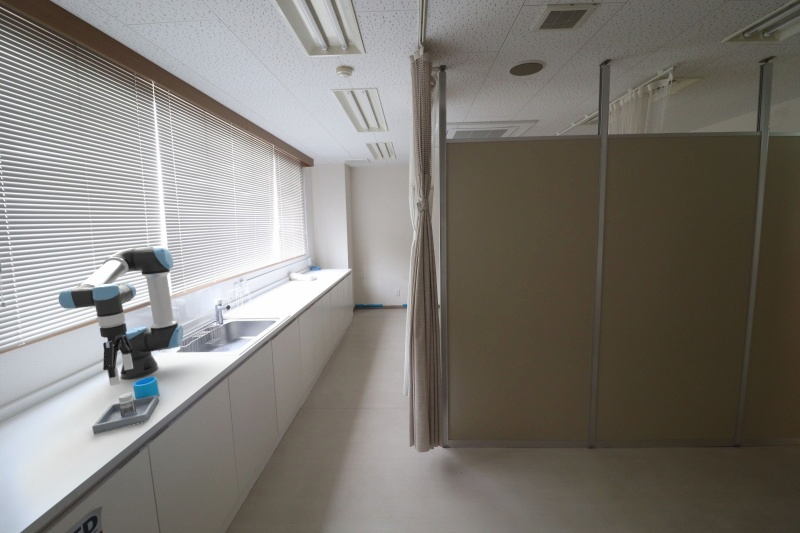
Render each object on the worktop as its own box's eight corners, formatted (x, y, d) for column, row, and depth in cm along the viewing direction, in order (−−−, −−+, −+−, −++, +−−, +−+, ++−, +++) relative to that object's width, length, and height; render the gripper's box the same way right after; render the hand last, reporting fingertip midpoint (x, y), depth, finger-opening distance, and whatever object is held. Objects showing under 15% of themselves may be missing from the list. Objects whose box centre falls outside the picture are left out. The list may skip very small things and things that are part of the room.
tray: (112, 411, 132) (111, 404, 132) (159, 401, 138) (158, 394, 138) (93, 433, 118) (92, 426, 117) (147, 421, 124) (145, 414, 123)
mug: (153, 402, 138) (150, 384, 137) (131, 405, 136) (128, 387, 135) (167, 388, 150) (164, 371, 148) (147, 391, 148) (144, 374, 147)
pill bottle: (127, 411, 130) (123, 392, 129) (139, 410, 131) (136, 391, 129) (118, 418, 126) (114, 398, 124) (130, 417, 126) (127, 397, 125)
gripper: (113, 317, 133) (123, 365, 136) (83, 337, 110) (95, 394, 113) (136, 314, 135) (144, 361, 139) (111, 333, 113) (121, 389, 116)
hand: (122, 376), depth 126 cm, fingers open, 13 cm apart
